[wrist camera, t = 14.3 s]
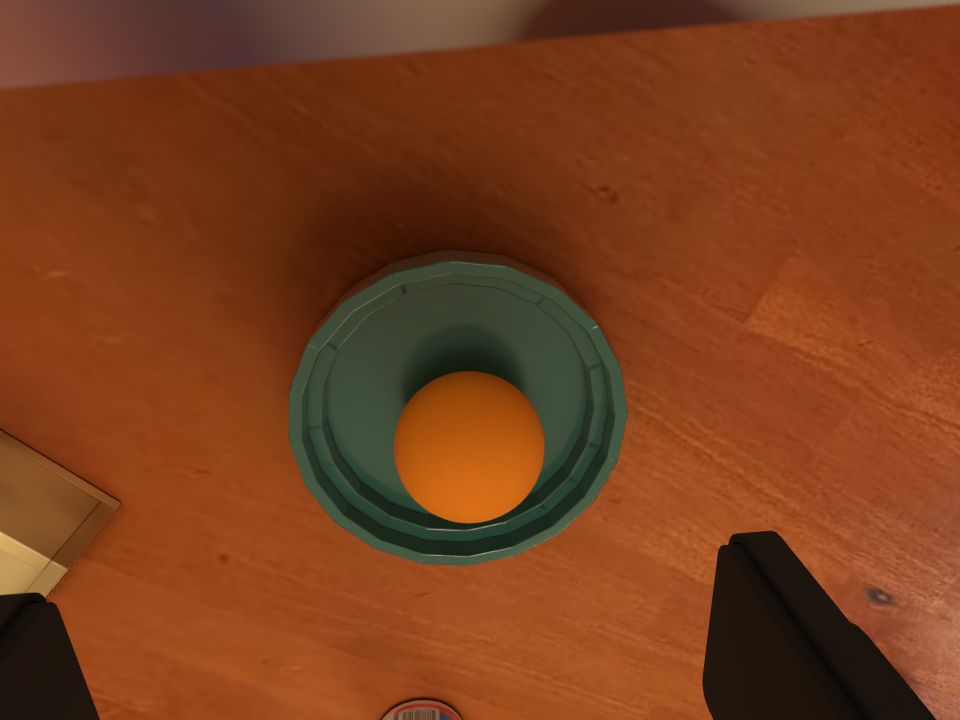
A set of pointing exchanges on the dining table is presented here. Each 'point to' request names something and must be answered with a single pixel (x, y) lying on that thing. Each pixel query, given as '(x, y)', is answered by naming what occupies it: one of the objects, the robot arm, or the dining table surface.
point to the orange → (469, 447)
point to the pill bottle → (422, 711)
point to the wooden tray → (43, 518)
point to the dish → (440, 351)
